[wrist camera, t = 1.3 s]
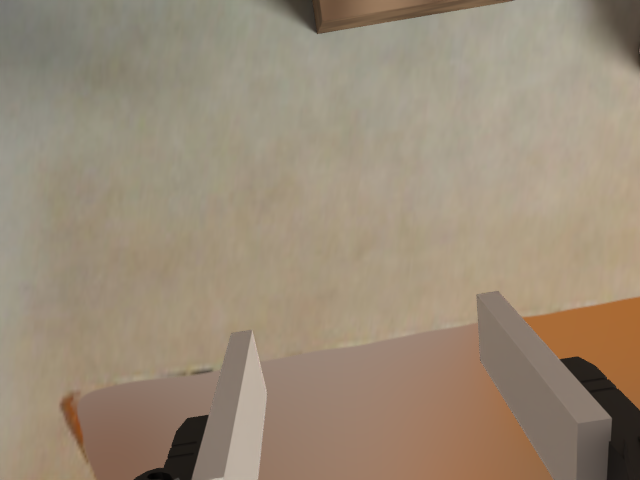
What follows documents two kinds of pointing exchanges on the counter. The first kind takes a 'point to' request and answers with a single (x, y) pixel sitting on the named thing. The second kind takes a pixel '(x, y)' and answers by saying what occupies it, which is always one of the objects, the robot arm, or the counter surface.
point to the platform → (382, 11)
